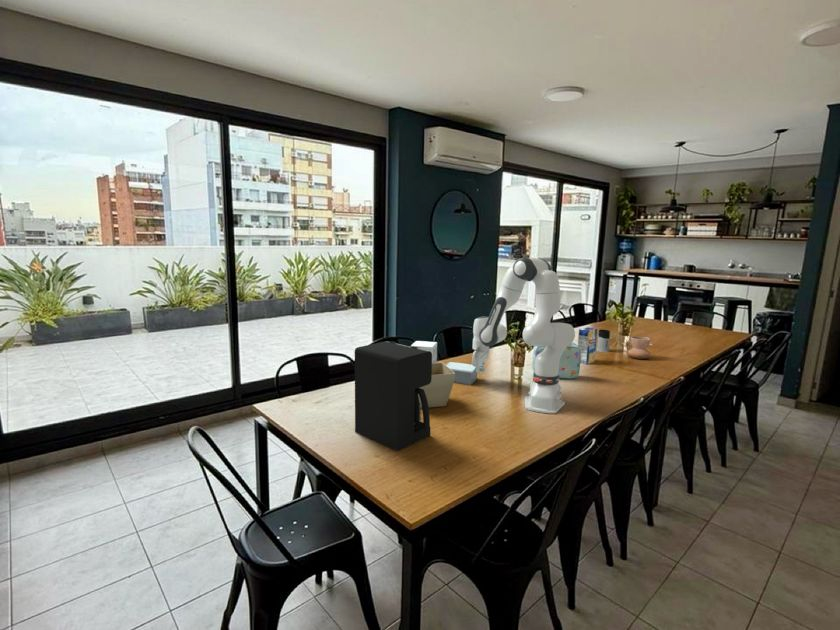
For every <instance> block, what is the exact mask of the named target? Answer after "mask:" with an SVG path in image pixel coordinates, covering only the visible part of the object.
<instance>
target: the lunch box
mask: <svg viewBox="0 0 840 630" xmlns="http://www.w3.org/2000/svg"><path fill="white" fill-rule="evenodd" d="M545 347H546V346H533V352H532V353H533V354H532V370H533V373H534V372H535V359H536V356H537V355H538V354H539V353H541V352H542V351H543V350H544V349H545ZM580 360H581V350H580V348H579V347H578V344H576V342H572V343H570V344H569V345H568V346H567V347H566V348H565V350H564V351H563V353H562V355H561V358H560V362H559V371H558V374H559V380H560V379H565V380H566V379H567V380H568V379H569V380H570V379H571V380H572V379H576V378H578V376H579V375H580V370H581V363H580Z"/></svg>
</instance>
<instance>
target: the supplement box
mask: <svg viewBox="0 0 840 630" xmlns="http://www.w3.org/2000/svg"><path fill="white" fill-rule="evenodd" d="M413 346H415V347H418V349H422V350H427V351H430V352H431V353H432V363H438V342H437V341H425V340H416V341H414V342H413V343H412V344H411V345H410V347H413Z"/></svg>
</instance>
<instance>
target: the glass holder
mask: <svg viewBox="0 0 840 630" xmlns="http://www.w3.org/2000/svg"><path fill="white" fill-rule="evenodd" d="M610 334H611V331H610V330H608V329H599V330H598V333H597V343H596V351H595V352H600V353H609V352H610V348H611V347H613V346H615V344H616V343H617V341H618V338H616V340H615V342H614V343H613V344H612V345H610V340H611V339H612V338H613V336H616V337H618V335H617V334H616V333H613V334H611V335H610Z"/></svg>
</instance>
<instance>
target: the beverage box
mask: <svg viewBox="0 0 840 630" xmlns="http://www.w3.org/2000/svg"><path fill="white" fill-rule="evenodd" d="M597 340H598V328H595V327H588V326H587V327H583V328H579V329H578V340H577V346H578V347H579V348H580V350H581V360H580V364H582V363H583V365H589V364H592V363H595V361H596V352H597V351H596V350H597Z"/></svg>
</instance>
